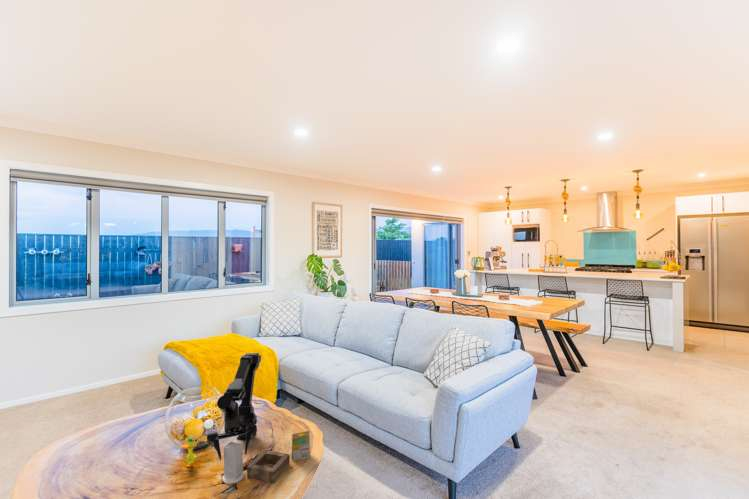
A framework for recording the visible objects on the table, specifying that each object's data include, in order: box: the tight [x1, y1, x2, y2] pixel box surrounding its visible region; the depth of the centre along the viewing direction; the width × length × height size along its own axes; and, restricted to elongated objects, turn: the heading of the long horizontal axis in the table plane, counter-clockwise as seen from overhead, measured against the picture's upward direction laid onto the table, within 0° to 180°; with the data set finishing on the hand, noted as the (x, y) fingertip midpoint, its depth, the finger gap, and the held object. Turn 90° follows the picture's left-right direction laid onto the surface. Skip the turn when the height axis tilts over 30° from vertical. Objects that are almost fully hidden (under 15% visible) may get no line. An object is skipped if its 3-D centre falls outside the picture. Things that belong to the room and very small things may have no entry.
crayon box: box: [291, 430, 311, 462], centre depth 156 cm, size 7×3×12 cm, turn 111°
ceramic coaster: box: [222, 470, 245, 485], centre depth 143 cm, size 8×8×1 cm
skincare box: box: [223, 441, 244, 480], centre depth 143 cm, size 6×4×12 cm
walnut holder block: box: [246, 449, 291, 484], centre depth 146 cm, size 12×12×4 cm
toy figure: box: [179, 436, 197, 468], centre depth 150 cm, size 7×4×12 cm, turn 92°
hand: (233, 457), depth 142 cm, fingers open, 9 cm apart
